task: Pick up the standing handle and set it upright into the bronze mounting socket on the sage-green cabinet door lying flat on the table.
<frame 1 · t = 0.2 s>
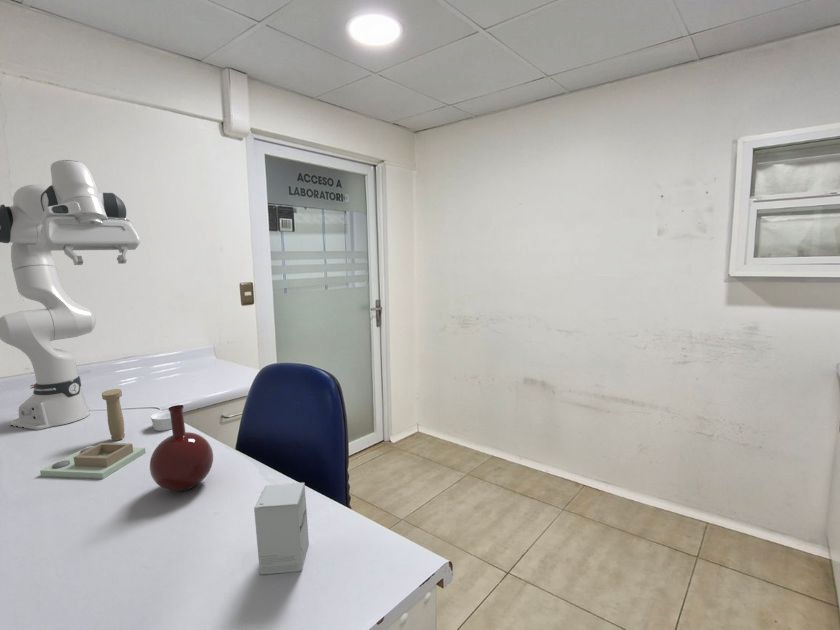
hand: (101, 263, 109), 54 cm above the worktop, fingers open, 8 cm apart
ramekin: (168, 427, 140), on the worktop
round-bottom flask: (185, 487, 102), on the worktop
supplement box: (285, 559, 77), on the worktop
handle: (118, 439, 131), on the worktop
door: (95, 463, 115), on the worktop
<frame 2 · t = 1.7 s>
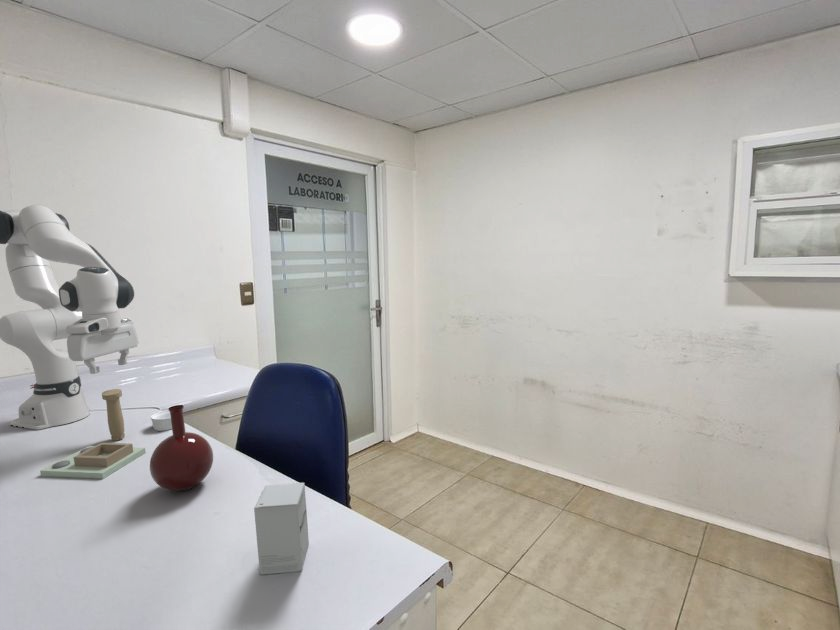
hand: (109, 368, 126), 23 cm above the worktop, fingers open, 8 cm apart
nothing on the worktop moved.
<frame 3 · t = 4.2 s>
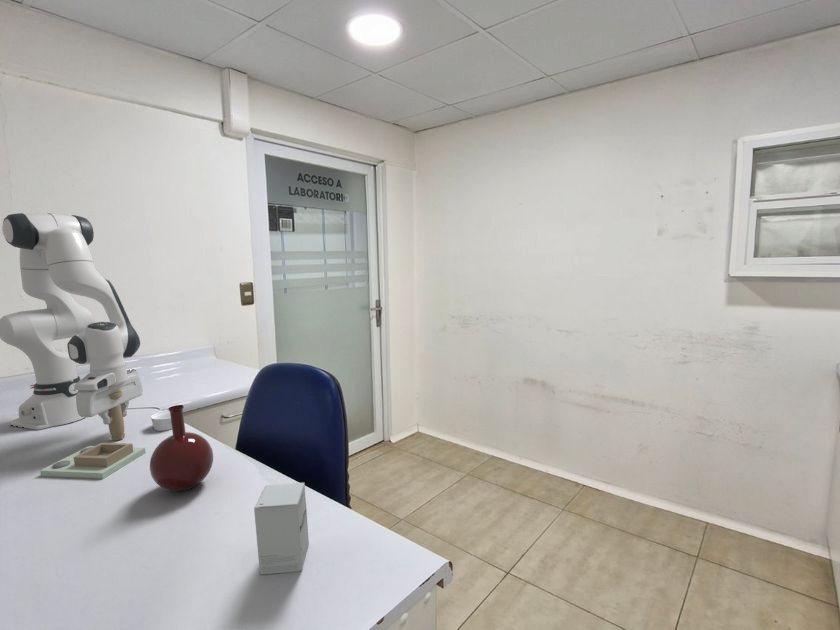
hand: (115, 420, 130), 6 cm above the worktop, fingers closed on handle, 4 cm apart
handle: (118, 439, 131), on the worktop, touching gripper
everything else where it was.
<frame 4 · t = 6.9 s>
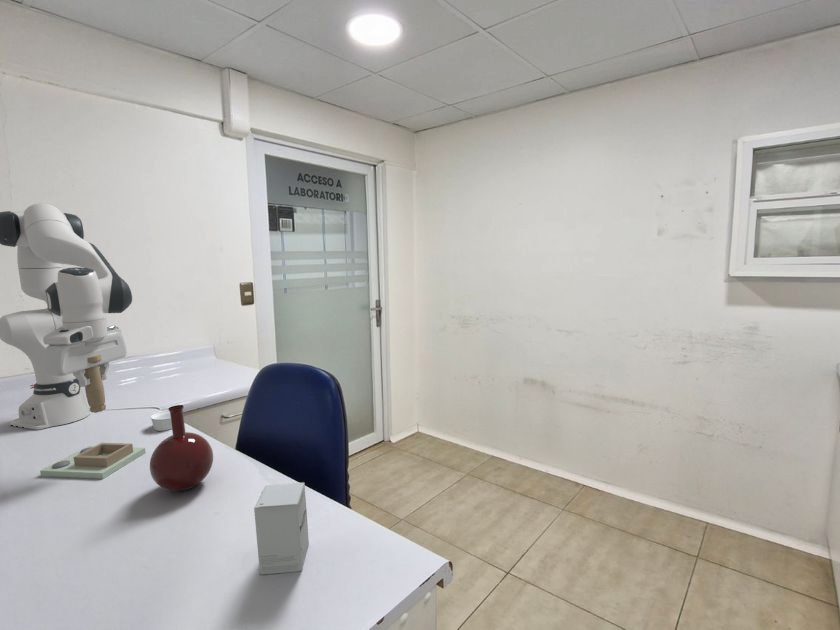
hand: (93, 383, 112), 23 cm above the worktop, fingers closed on handle, 3 cm apart
handle: (98, 411, 113), point 15 cm above the worktop, touching gripper
everything else where it was.
when the fingers open (9 cm above the worktop, at t = 10.0 s): handle stays where it is, resting on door.
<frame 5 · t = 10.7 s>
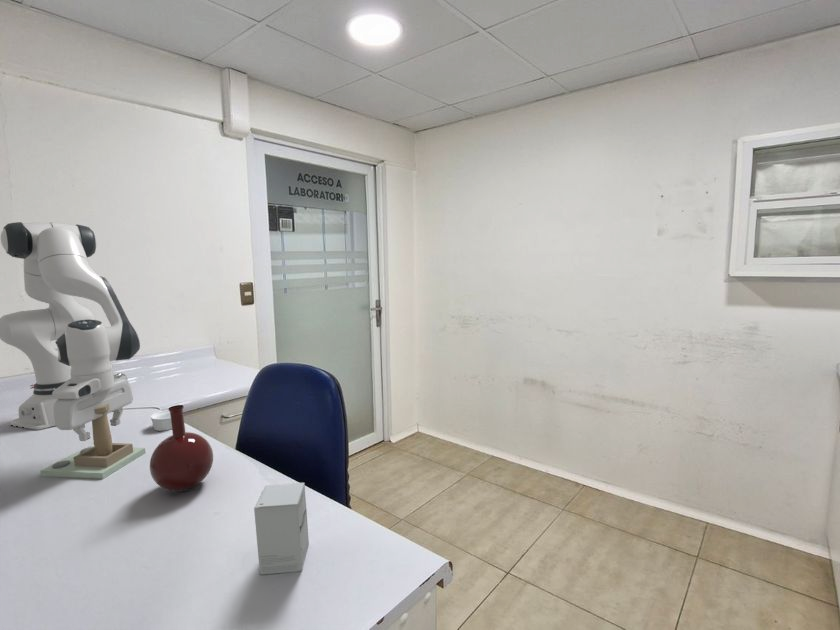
hand: (101, 432, 113), 9 cm above the worktop, fingers open, 8 cm apart
handle: (105, 459, 115), point 1 cm above the worktop, touching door
everything else where it was.
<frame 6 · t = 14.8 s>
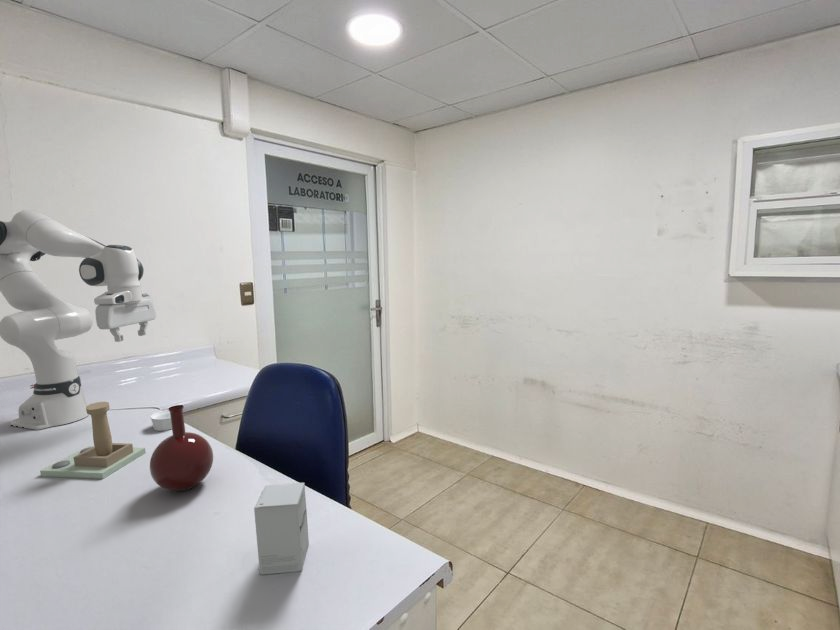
hand: (131, 338, 139), 29 cm above the worktop, fingers open, 8 cm apart
nothing on the worktop moved.
at the end: handle 0.1 cm from the target spot on the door, point 1.3 cm above the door's base; handle tilted 0°; the gripper is holding nothing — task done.
